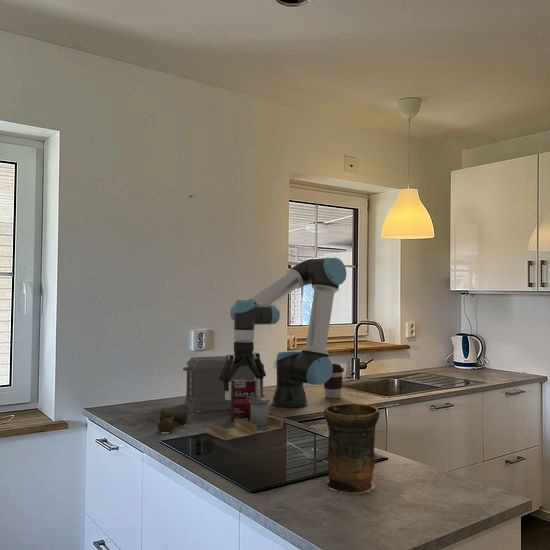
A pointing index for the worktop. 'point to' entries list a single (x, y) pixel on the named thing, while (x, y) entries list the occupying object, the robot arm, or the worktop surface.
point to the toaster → (211, 383)
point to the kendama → (171, 420)
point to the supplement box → (242, 399)
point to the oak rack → (243, 428)
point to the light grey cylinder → (259, 412)
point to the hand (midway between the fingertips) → (242, 397)
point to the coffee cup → (334, 382)
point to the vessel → (351, 447)
